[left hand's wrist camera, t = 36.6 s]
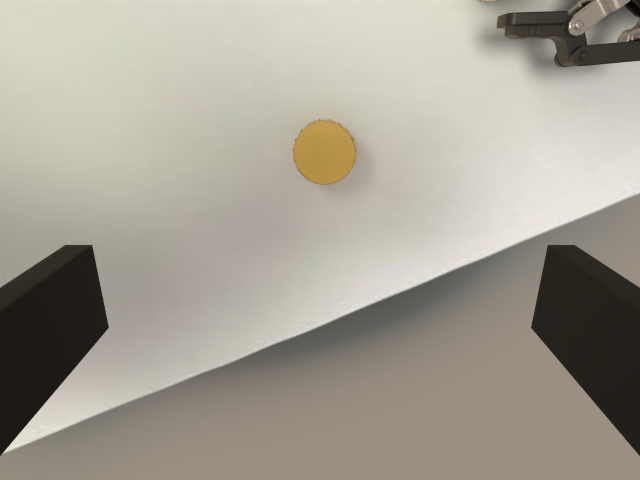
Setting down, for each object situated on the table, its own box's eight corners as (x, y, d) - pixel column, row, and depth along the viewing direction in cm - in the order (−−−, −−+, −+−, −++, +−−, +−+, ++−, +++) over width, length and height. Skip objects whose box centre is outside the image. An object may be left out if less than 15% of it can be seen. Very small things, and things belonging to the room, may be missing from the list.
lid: (302, 186, 38) (301, 191, 36) (286, 127, 36) (285, 130, 34) (359, 172, 38) (362, 177, 36) (346, 112, 36) (348, 114, 34)
